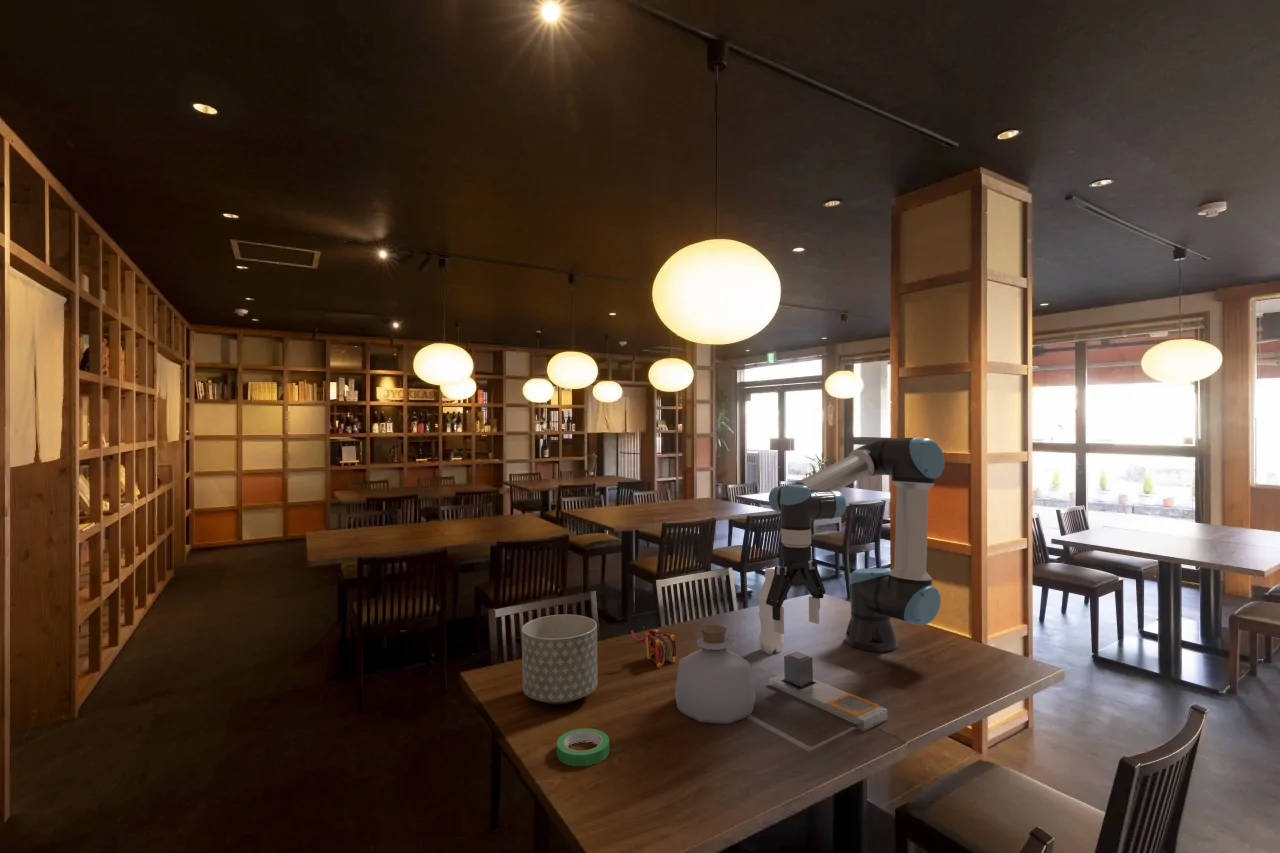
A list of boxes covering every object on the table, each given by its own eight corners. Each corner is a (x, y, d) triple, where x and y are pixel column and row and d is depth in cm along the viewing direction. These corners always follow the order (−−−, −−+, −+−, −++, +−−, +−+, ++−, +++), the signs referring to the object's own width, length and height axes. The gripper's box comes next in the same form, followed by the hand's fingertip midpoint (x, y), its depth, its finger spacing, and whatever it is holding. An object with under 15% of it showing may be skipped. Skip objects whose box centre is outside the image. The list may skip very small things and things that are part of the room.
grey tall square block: (797, 682, 153) (796, 650, 154) (813, 688, 149) (812, 656, 149) (784, 687, 151) (784, 654, 151) (800, 694, 146) (799, 661, 147)
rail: (792, 679, 157) (792, 669, 157) (887, 719, 134) (887, 708, 134) (769, 687, 152) (769, 677, 152) (864, 731, 129) (863, 719, 129)
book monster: (679, 663, 169) (642, 673, 164) (664, 653, 177) (628, 663, 172) (676, 626, 169) (639, 636, 164) (661, 619, 177) (626, 627, 172)
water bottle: (784, 656, 173) (782, 572, 173) (759, 655, 175) (758, 571, 175) (783, 648, 180) (781, 567, 181) (759, 646, 182) (758, 566, 182)
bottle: (660, 696, 148) (659, 622, 148) (727, 683, 155) (726, 612, 156) (696, 733, 130) (695, 648, 130) (771, 716, 137) (770, 636, 137)
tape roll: (572, 735, 130) (572, 723, 130) (617, 745, 126) (617, 732, 126) (546, 761, 120) (546, 748, 120) (594, 772, 116) (594, 759, 116)
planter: (567, 675, 162) (566, 610, 162) (613, 696, 149) (612, 625, 149) (508, 697, 149) (507, 626, 149) (552, 723, 135) (551, 644, 136)
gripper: (815, 537, 161) (816, 615, 160) (751, 548, 146) (752, 632, 146) (838, 541, 154) (839, 622, 154) (773, 552, 140) (774, 641, 140)
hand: (797, 627), depth 150 cm, fingers open, 13 cm apart
